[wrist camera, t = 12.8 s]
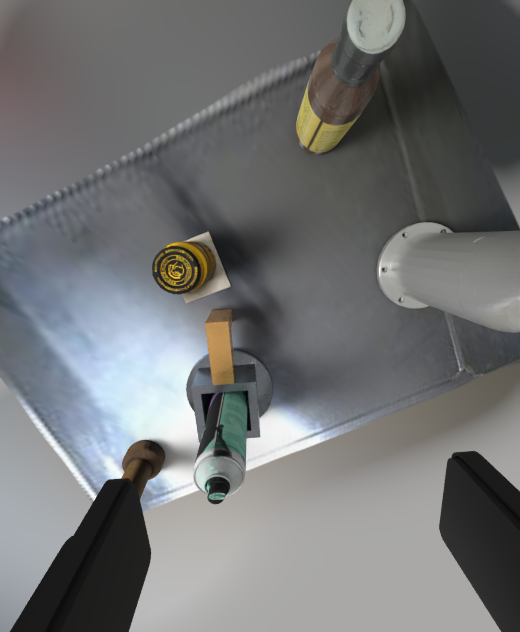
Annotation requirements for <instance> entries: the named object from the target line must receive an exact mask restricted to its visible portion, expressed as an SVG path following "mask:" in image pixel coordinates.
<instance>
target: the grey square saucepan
mask: <svg viewBox="0 0 520 632" xmlns="http://www.w3.org/2000/svg"><path fill="white" fill-rule="evenodd" d="M232 323H233V318H232V309H222V310H212V311H211V313H210V315H209V317H208V319H207V321H206V322H205V326H206V334H207V342H208V351H209V354H207V355H206V356H204V357H203V358H201V359H200V360H199V361H198V362H197V363H196V365H195V366H194V367H193V369H192V371H191V373H190V375H189V378H188V381H187V388H186V391H187V398H188V401H189V404H190V406H191V407H192V409H193V410H194V412H195V417H196V424H197V431H198V438H199V442H201V438H202V434H203V430H204V426H205V422H206V418H207V414H208V411H209V407H210V403H211V399H212V395H213V393H219V392H233V391H246V390H248V401H247V435H246V438H256V437H260V421H259V418H260V417H261V416H262V415H263V414H264V412H265V411H266V410H267V408H268V406H269V404H270V402H271V399H272V392H273V388H272V380H271V377H270V374H269V372H268V370H267V368H266V367H265V365H264V364H263V363H262V362H261V361H260V360H259V359H258V358H256V357H255V356H254V355H252V354H250V353H248V352H245V351H242V350H238V349H233V343H232V333H231V327H232Z"/></svg>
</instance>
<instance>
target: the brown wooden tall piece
mask: <svg viewBox="0 0 520 632" xmlns="http://www.w3.org/2000/svg"><path fill="white" fill-rule="evenodd" d="M164 459H165V454H164V451H163V449H162V448H161V447H160V446H159V445H158V444H156V443H154V442H151V441H139V442H136V443H134V444H133V445H132V446H131V447H130V448H129V449H128V451H127V453H126V455H125V456H124V459H123V462H122V467H123V470H124V472H125V473H124V475H123V476H122V478H121V479H123V478H129V479H130V480H131V483H135V484H136V486H137V490H138V494H139V499H140V498H141V495H142V493H143V491H144V488H145V486H146V483H147V481H148V480H150V479H152V478H154V477H155V476H157V475H158V473H159V472H160V470H161V468H162V465H163V463H164Z"/></svg>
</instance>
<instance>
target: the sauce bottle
mask: <svg viewBox="0 0 520 632" xmlns="http://www.w3.org/2000/svg"><path fill="white" fill-rule="evenodd" d="M404 24H405V6H404V4H403V0H351V2H350V4H349V6H348V9H347V11H346V14H345V17H344V19H343V24H342V32H341V35H340V37H338V38H336V39H335V40H333V41H332V42H331V43H330V44H328V45H327V46H326V47H325V48H324V49H323V50H322V51H321V53H320V55H319V57H318V59H317V61H316V63H315V66H314V68H313V71H312V73H311V76H310V78H309V82H308V85H307V88H306V91H305V95H304V98H303V101H302V104H301V108H300V111H299V114H298V118H297V122H296V138H297V141H298V143H299V144H300V146H301V147H302V148H303V149H304V150H305V151H306V152H307V153H309V154H313V155H321V154H325V153H327V152H329V151H330V150H331V149H332V148H334V147H335V146H336V145H337V144H338V143H339V141H340V140H341V139H342V138H343V136H344V135H345V134H346V132H347V131H348V130H349V129H350V127H351V126H352V125H353V124H354V122H355V121H356V120H357V119H358V117H359V116H360V115H361V114H362V112H363V111H364V109H365V107H366V106H367V104H368V103H369V102H370V100H371V99H372V97H373V95H374V94H375V91H376V88H377V84H378V81H379V74H380V65H379V64H380V62H381V61H382V60H383V59H385V58H386V57H387V56H388V55H389V54H390V52H391V51H392V49H393V48H394V46H395V44H396V43H397V41H398V39H399V38H400V36H401V33H402V31H403V29H404Z"/></svg>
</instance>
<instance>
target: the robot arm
mask: <svg viewBox="0 0 520 632" xmlns="http://www.w3.org/2000/svg"><path fill="white" fill-rule="evenodd" d="M440 232H441V233H440ZM402 234H404V235H403V237H402ZM382 268H383V271H382ZM377 280H378V283H379V286H380V288H381V290H382V292H383V293H384V294H385V295H386V297H387V298H388V299H390V300H391V301H392V302H394V303H396V304H398V305H400V306H403V307H406V308H413V309H415V308H424V307H428V306H432V307H435V308H437V309H440V310H443V311H445V312H448V313H451V314H453V315H456V316H459V317H461V318H464V319H467V320H469V321H472V322H475V323H477V324H480V325H483V326H486V327H489V328H491V329H495V330H499V331H504V332H520V231H498V232H463V233H454V232H452V231H451V230H450V229H449V228H447V227H445V226H443V225H441V224H437V223H433V222H422V223H416V224H412V225H409V226H407V227H405V228H403V229H401V230H399V231H398V232H397V233H395V234H394V235H393V236H392V237H391V238H390V239H389V240H388V241H387V243H386V244H385V246H384V247H383V249H382V251H381V253H380V255H379V259H378V263H377ZM399 298H400V299H399ZM439 529H440V533H441V536H442V538H443V540H444V542H445V544H446V545H447V547H448V549H449V550H450V552H451V553H452V555H453V556H454V558H455V560H456V561H457V563H458V564H459V566H460V567H461V569H462V571H463V572H464V574H465V575H466V577H467V578H468V580H469V581H470V583H471V585H472V586H473V588H474V589H475V591H476V593H477V594H478V595H479V597H480V599H481V600H482V602H483V604H484V605H485V607H486V608H487V610H488V611H489V613H490V614H491V616H492V618H493V619H494V621H495V622H496V624H497V626H498V627H499V629H500V630H501V632H520V491H519V490H518V489H516V488H515V487H514V486H513V485H512V484H511V483H510V482H509V481H508V480H507V479H506V478H505V477H504V476H503V475H502V474H501V473H500V472H498V471H497V470H496V469H495V468H494V467H493V466H492V465H491V464H490V463H489V462H488V461H487V460H486V459H484V457H483V456H481V455H480V454H479V453H478V452H475V451H469V452H456V453H453V454H452V458H449V459H448V462H447V469H446V476H445V484H444V493H443V500H442V508H441V517H440V524H439ZM150 559H151V548H150V544H149V539H148V535H147V530H146V526H145V521H144V517H143V512H142V508H141V503H140V499H139V494H138V490H137V486H136V484H135V483H131V480H130V479H129V478H123V479H110V480H108V481H106V483H105V484H104V485H103V487H102V489H101V490H100V492H99V494H98V495H97V497H96V499H95V500H94V502H93V504H92V505H91V507H90V509H89V510H88V512H87V514H86V515H85V517H84V519H83V520H82V522H81V524H80V526H79V527H78V529H77V531H76V532H75V534H74V536H71V537H70V538H69V539H68V540H67V541H66V542H65V544H64V545H63V546H62V548H61V549H60V551H59V553H58V554H57V556H56V557H55V559H54V561H53V562H52V564H51V566H50V567H49V569H48V571H47V572H46V574H45V575H44V577H43V579H42V580H41V582H40V584H39V585H38V587H37V588H36V590H35V592H34V593H33V595H32V597H31V598H30V600H29V601H28V603H27V605H26V606H25V608H24V610H23V611H22V613H21V615H20V616H19V618H18V619H17V621H16V623H15V624H14V626H13V628H12V629H11V631H10V632H129V629H130V626H131V622H132V619H133V616H134V613H135V609H136V606H137V603H138V600H139V597H140V594H141V590H142V587H143V584H144V581H145V577H146V574H147V571H148V568H149V564H150Z"/></svg>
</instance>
